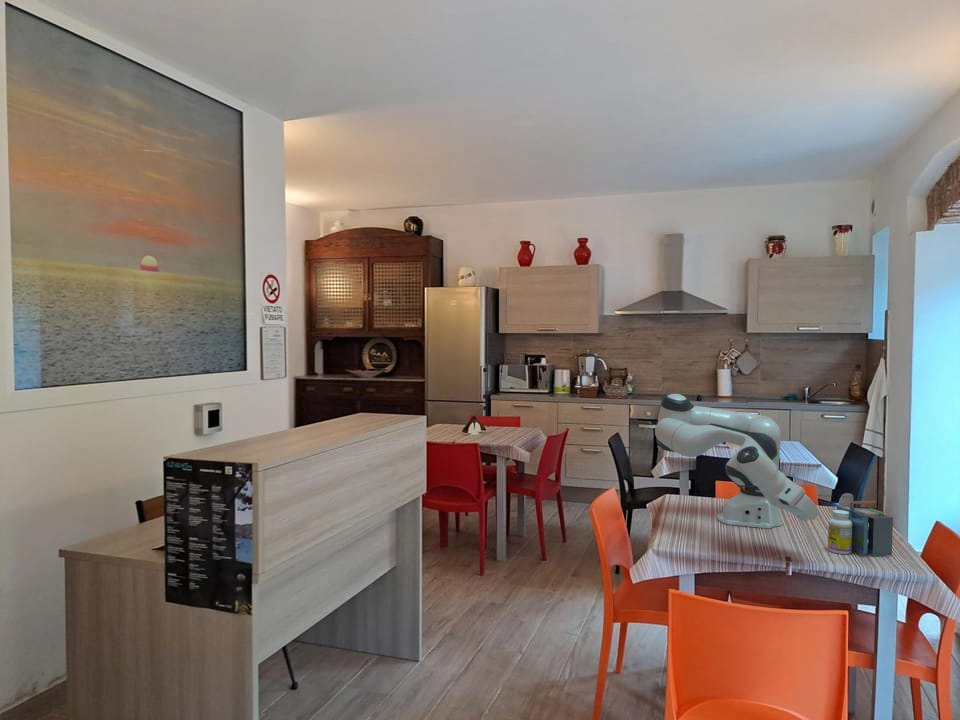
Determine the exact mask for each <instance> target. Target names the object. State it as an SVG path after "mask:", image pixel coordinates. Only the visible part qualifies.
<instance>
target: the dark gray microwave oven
mask: <svg viewBox="0 0 960 720" xmlns="http://www.w3.org/2000/svg"><path fill="white" fill-rule="evenodd" d="M854 511H856V512H859V513H862V514H865V515H868V527H869V531H868V539H867V554H868V555H867V554H866V555H867V556H870V555H871V556H870V557H872V556H875V557H887V556H886V555H892V556H893V531H894V528H893V526H894V525H893V524H894V517H892V516H890V515H887V514H885V512H884V511H881V510H877V509H874V508H864V507H863V508H854Z"/></svg>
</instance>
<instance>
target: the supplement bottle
mask: <svg viewBox="0 0 960 720" xmlns="http://www.w3.org/2000/svg"><path fill="white" fill-rule="evenodd" d="M831 513H832V517H831V518H829V520H828V534H827V535H828V538H827V549H828V551H829V552H831V553H834V554H838V555H850V554H851V553H852V549H851V548H852V522H851V521H850V520H848V517H849V512H847V511H843V510H837V509H833V510H832V512H831Z"/></svg>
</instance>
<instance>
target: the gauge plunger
mask: <svg viewBox="0 0 960 720" xmlns="http://www.w3.org/2000/svg"><path fill="white" fill-rule="evenodd" d="M876 503H877V501H876V500H859V501H858V500H854V501H852V500H851V502H850V504H849V508H847V507H844V506H841V505H840V506H838V505H837V506H836V510H843V511H847V512H849V517H848V520H850V521H851V522H852V548H851V550H853V551H855V552H858V553H860V554H863V555H867V539H868V531H869V523H868V515H865V514H862V513H859V512H856V511H854V509H855V505H856V504H857V505H862V504H876Z"/></svg>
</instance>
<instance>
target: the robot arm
mask: <svg viewBox="0 0 960 720" xmlns="http://www.w3.org/2000/svg"><path fill="white" fill-rule="evenodd" d="M657 418H658V419H657V423H656V426H655V429H654V434H655V437H656V444H657V446H658V447H659V448H660V449H661V450H663V451H665V452H670V453H671V452H672V453H676V454H679V455H680V456H684V457H688V458H695V457H699V456H701V455H704V454H705V453H706V452H708V451H709V450H711V449H712V448H714V447H716V446H718V445H720V444H723V443H729V444H733V445H736V446H740V447H739V448H738V449H737V451H735V453H734V454H733V455H732V456H731V457H730V459H729V460H728V461H727V462H726V464H725V466H724V470H725V473H726V476H727V477H728V478H729V479H730V481H731V482H733V484H734V485H736V487H737V488H739V491H740V492H738V493H737V494H735V495H734V496H732V497H731V498H729V499H727V500H726V501H725V503H724V505H723V509H722V512H719V513H717V515H716V519H717V521H719V522H720V523H722V524H725V525H729V526H730V525H731V526H740V527H749V528H750V527H751V528H761V529H773V528H774V527H775V528H776V527H780V526H782V525H783V522H782V519H781V514H780V509H781V510H784V511H786V512H789V513H791V514H792V515H794V516H795V517H796V518H797V519H798V520H799V521H802V522H805V523H806V522H807V523H808V521H815V519H816V518H817V517H818V516H819V514H820V510H819V508H818V507H817V505H816V504H815V503H814V502H813V500H812V499H811V498H810V497H809V496H808V495H807V494H806V490H805V489H804V488H803V487H802V486H800V485H799V484H796V483H795V482H794V481H792V480H791V479H790V478H788V477H787V476H786V474H785V473H784V472H783V471H781V470H779V468H780V466H779V465H780V455H781V442H782V441H781V440H782V432H781V428H780V426H779V425H778V424H777V422H776V421H775V420H774V419H773V418H772V417H769V416H767V415H762V414H754V413H749V412H740V411H732V410H726V409H720V408H714V407H708V406H700V405H699V406H698V405H697V406H696V405H694V404H692V403H691V400H690V399H689V398H688V397H686V396H685V395H682V394H679V393H668V394H666V395H665V396H663V398H662V400H661V402H660V409H659V412H658V417H657Z"/></svg>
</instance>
